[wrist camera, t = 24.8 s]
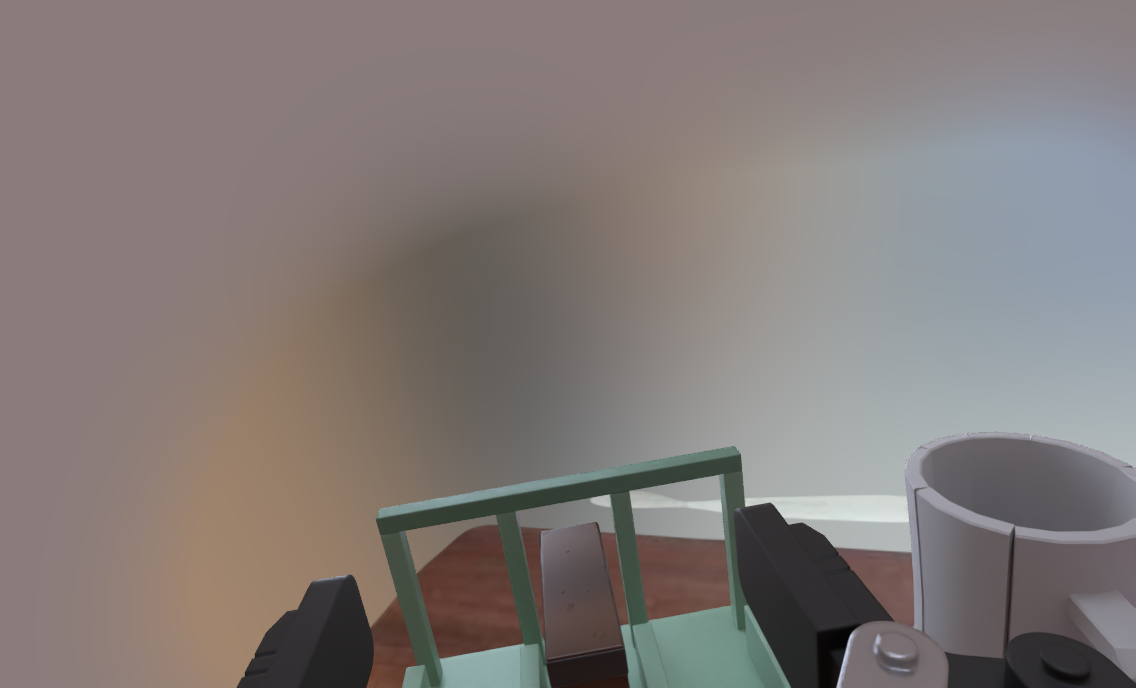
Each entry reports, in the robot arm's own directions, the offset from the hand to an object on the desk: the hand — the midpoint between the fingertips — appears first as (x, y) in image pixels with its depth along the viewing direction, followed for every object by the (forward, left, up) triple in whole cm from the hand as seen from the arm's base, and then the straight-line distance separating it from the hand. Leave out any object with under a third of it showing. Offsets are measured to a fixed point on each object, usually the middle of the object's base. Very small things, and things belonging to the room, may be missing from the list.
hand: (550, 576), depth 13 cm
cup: (+15, +16, -20) cm, 30 cm away
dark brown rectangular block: (-4, +10, -19) cm, 22 cm away
